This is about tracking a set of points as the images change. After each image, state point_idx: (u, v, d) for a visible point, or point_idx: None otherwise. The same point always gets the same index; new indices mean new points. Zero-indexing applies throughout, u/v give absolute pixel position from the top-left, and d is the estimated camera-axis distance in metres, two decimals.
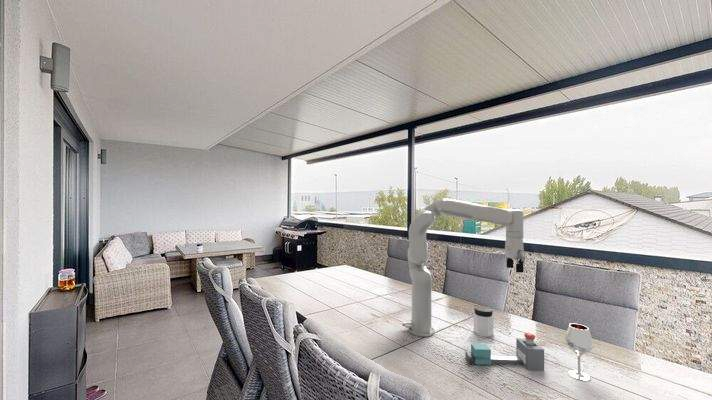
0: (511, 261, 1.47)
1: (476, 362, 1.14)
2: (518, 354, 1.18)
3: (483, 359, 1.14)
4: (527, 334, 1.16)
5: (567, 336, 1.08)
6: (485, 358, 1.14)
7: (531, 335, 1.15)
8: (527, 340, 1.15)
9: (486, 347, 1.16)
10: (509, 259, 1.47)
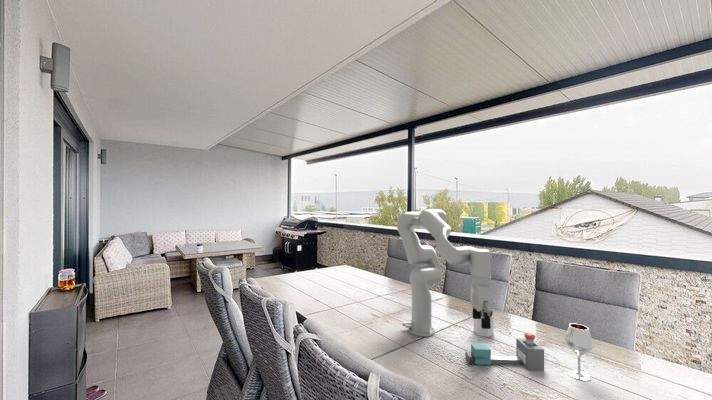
0: None
1: (476, 362, 1.14)
2: (518, 354, 1.18)
3: (483, 359, 1.14)
4: (527, 334, 1.16)
5: (567, 336, 1.08)
6: (485, 358, 1.14)
7: (531, 335, 1.15)
8: (527, 340, 1.15)
9: (486, 347, 1.16)
10: (476, 308, 1.21)
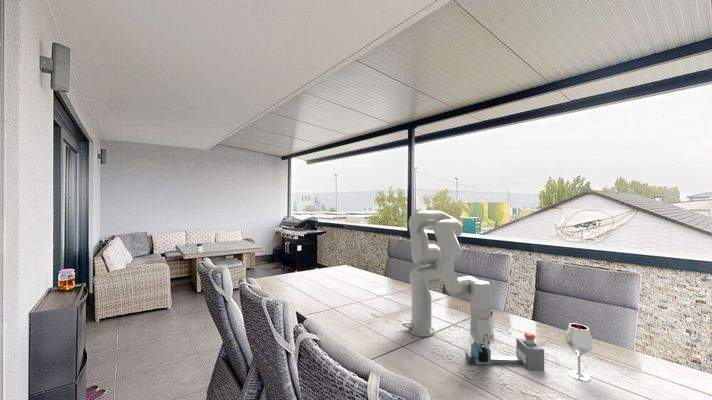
0: None
1: (476, 362, 1.14)
2: (518, 354, 1.18)
3: None
4: (527, 334, 1.16)
5: (567, 336, 1.08)
6: None
7: (531, 335, 1.15)
8: (527, 340, 1.15)
9: None
10: None
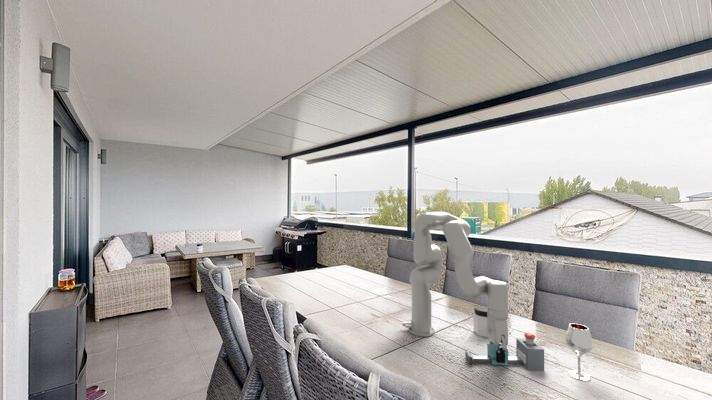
0: None
1: (493, 363, 1.14)
2: (518, 354, 1.18)
3: None
4: (527, 334, 1.16)
5: (567, 336, 1.08)
6: None
7: (531, 335, 1.15)
8: (527, 340, 1.15)
9: None
10: None
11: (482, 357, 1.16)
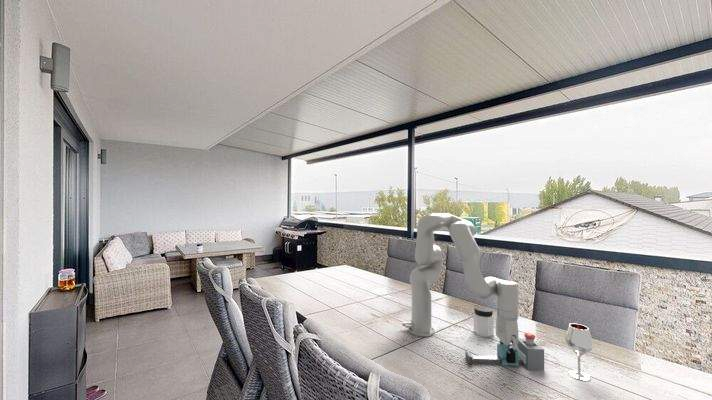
0: None
1: (503, 363, 1.14)
2: (518, 354, 1.18)
3: None
4: (527, 334, 1.16)
5: (567, 336, 1.08)
6: None
7: (531, 335, 1.15)
8: (527, 340, 1.15)
9: None
10: None
11: (482, 357, 1.16)
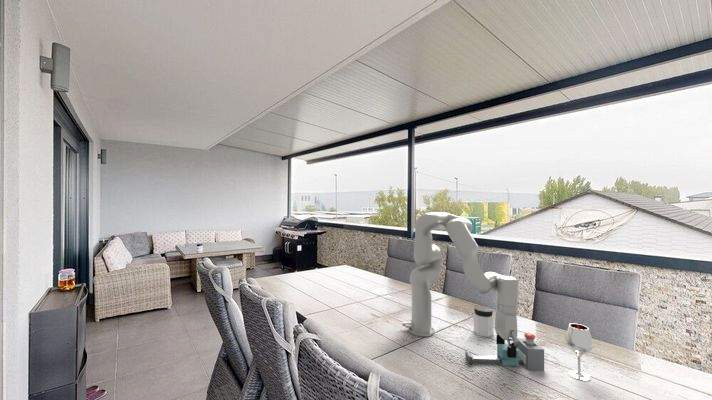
0: None
1: (504, 363, 1.14)
2: None
3: (511, 360, 1.14)
4: (527, 334, 1.16)
5: (567, 336, 1.08)
6: (513, 359, 1.13)
7: (531, 335, 1.15)
8: (527, 340, 1.15)
9: None
10: (500, 334, 1.21)
11: (482, 357, 1.16)
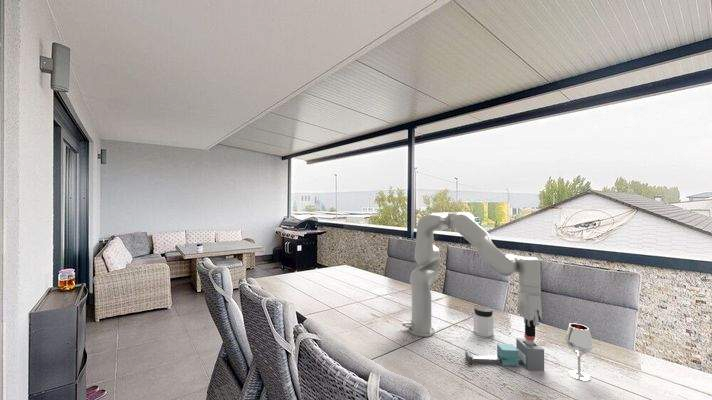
0: None
1: (504, 363, 1.14)
2: None
3: (511, 360, 1.14)
4: None
5: (567, 336, 1.08)
6: (513, 359, 1.13)
7: (531, 336, 1.15)
8: (527, 341, 1.15)
9: (513, 348, 1.15)
10: None
11: (482, 357, 1.16)
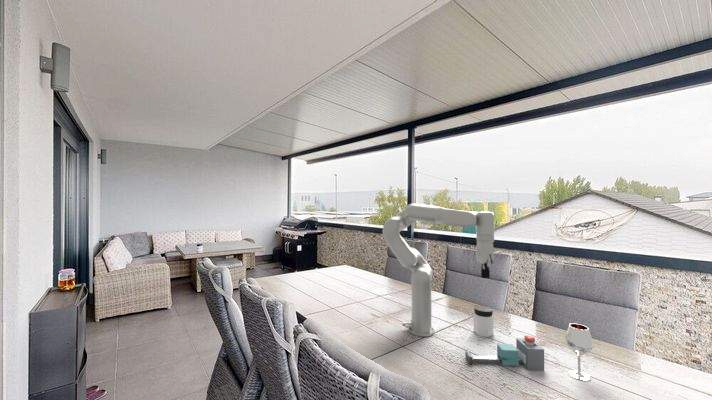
0: None
1: (504, 363, 1.14)
2: None
3: (511, 360, 1.14)
4: (527, 337, 1.16)
5: (567, 336, 1.08)
6: (513, 359, 1.13)
7: (531, 338, 1.15)
8: (527, 343, 1.15)
9: (513, 348, 1.15)
10: None
11: (482, 357, 1.16)
